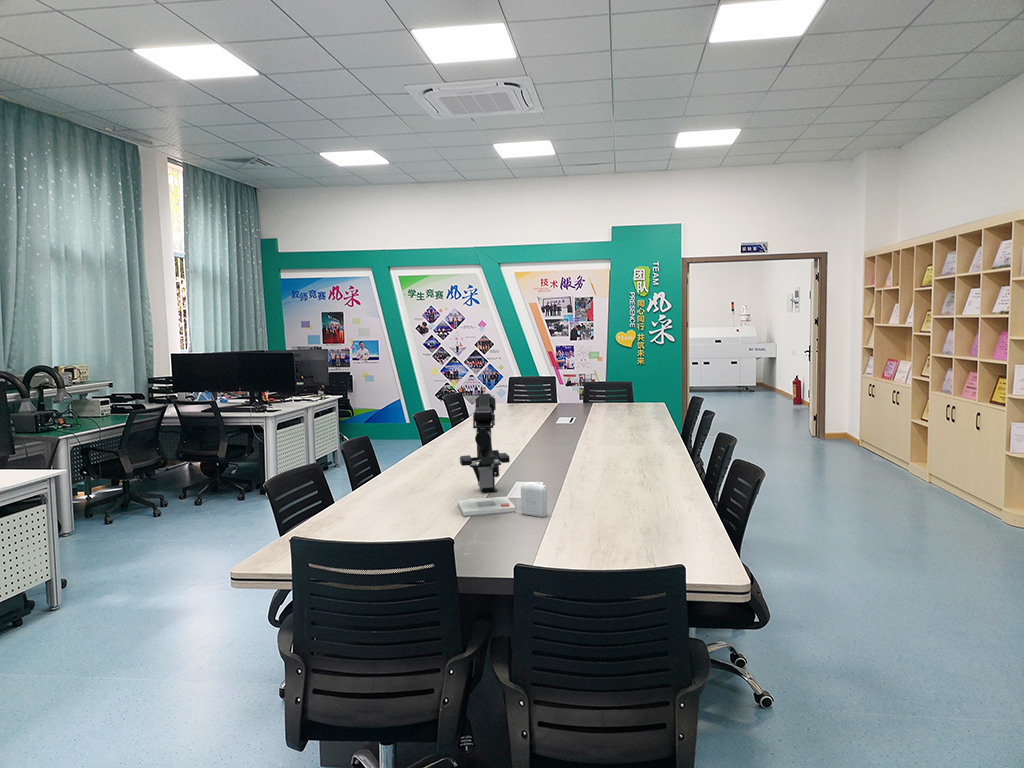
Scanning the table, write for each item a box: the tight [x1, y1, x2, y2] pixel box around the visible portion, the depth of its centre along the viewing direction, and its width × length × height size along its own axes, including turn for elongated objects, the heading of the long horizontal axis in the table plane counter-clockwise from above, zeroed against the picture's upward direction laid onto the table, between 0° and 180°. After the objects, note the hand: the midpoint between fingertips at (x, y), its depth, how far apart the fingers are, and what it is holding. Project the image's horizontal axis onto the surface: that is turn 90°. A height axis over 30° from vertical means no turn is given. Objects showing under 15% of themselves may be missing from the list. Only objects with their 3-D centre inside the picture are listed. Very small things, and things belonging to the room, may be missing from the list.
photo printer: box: [520, 481, 548, 518], centre depth 251 cm, size 10×4×12 cm, turn 61°
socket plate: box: [457, 496, 517, 518], centre depth 261 cm, size 16×20×3 cm
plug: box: [477, 467, 493, 489], centre depth 259 cm, size 5×5×7 cm
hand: (485, 481), depth 260 cm, fingers closed on plug, 5 cm apart
